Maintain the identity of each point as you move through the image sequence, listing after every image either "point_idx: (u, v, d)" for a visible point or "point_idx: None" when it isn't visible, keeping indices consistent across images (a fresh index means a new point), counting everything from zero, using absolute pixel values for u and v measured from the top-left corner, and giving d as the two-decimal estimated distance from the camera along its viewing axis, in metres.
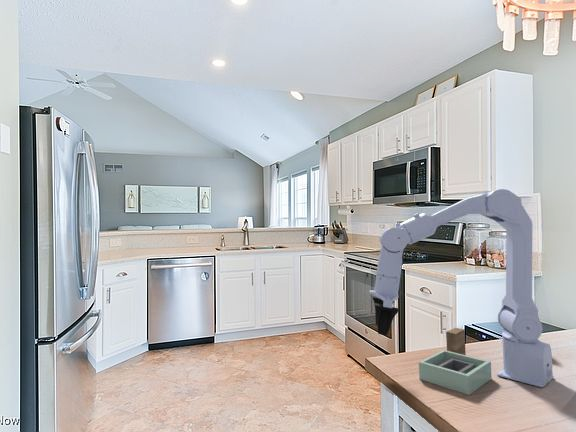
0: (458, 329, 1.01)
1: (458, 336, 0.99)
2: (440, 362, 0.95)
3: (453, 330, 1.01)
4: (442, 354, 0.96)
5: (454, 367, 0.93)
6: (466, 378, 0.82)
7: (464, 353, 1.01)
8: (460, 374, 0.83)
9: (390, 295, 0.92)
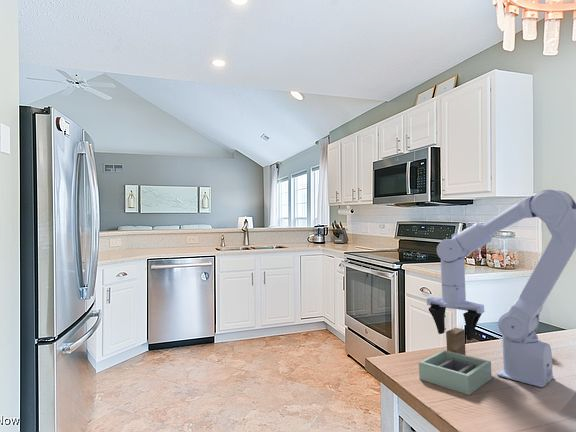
0: (458, 329, 1.01)
1: (458, 336, 0.99)
2: (440, 362, 0.95)
3: (453, 330, 1.01)
4: (442, 354, 0.96)
5: (454, 367, 0.93)
6: (466, 378, 0.82)
7: (464, 353, 1.01)
8: (460, 374, 0.83)
9: (465, 301, 0.99)
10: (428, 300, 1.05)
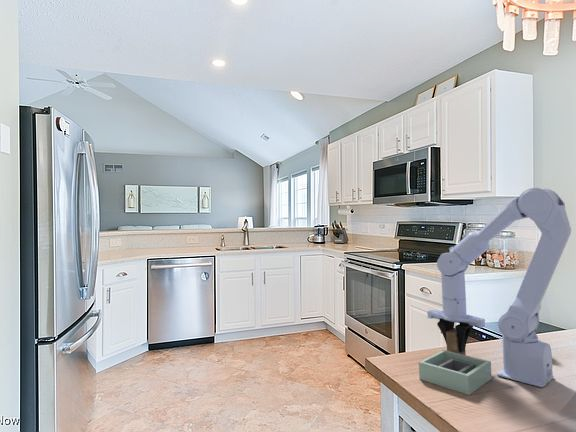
0: None
1: None
2: (440, 362, 0.95)
3: (453, 330, 1.01)
4: (442, 354, 0.96)
5: (454, 367, 0.93)
6: (466, 378, 0.82)
7: (464, 353, 1.01)
8: (460, 374, 0.83)
9: (466, 315, 0.99)
10: (429, 313, 1.05)
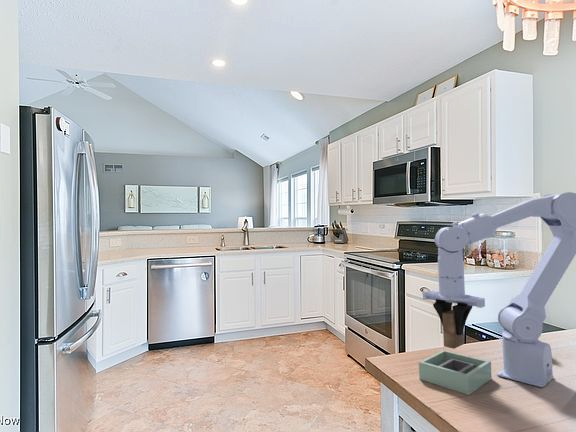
0: None
1: None
2: (440, 362, 0.95)
3: (450, 311, 0.92)
4: (442, 354, 0.96)
5: (454, 367, 0.93)
6: (466, 378, 0.82)
7: (462, 336, 0.92)
8: (460, 374, 0.83)
9: (464, 295, 0.91)
10: (424, 294, 0.97)
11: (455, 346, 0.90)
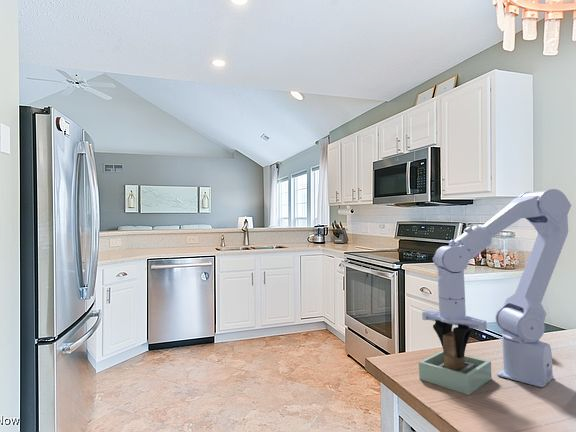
0: None
1: None
2: (440, 362, 0.95)
3: (451, 333, 0.90)
4: (442, 354, 0.96)
5: None
6: (466, 378, 0.82)
7: (463, 359, 0.90)
8: (460, 374, 0.83)
9: (465, 316, 0.88)
10: (424, 314, 0.94)
11: (456, 369, 0.87)
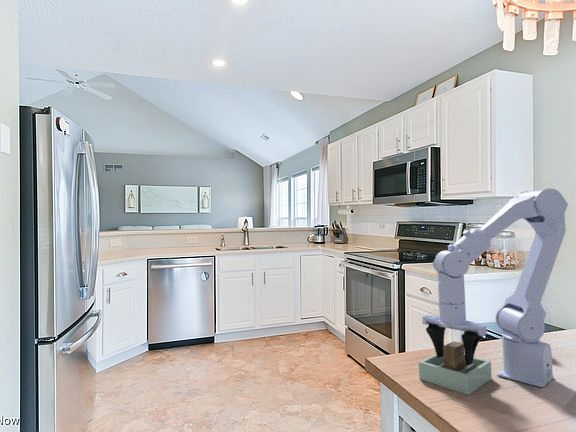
0: (457, 343, 0.90)
1: (456, 351, 0.88)
2: (440, 362, 0.95)
3: (451, 344, 0.90)
4: None
5: None
6: (466, 378, 0.82)
7: None
8: (460, 374, 0.83)
9: (465, 321, 0.88)
10: (424, 319, 0.94)
11: None
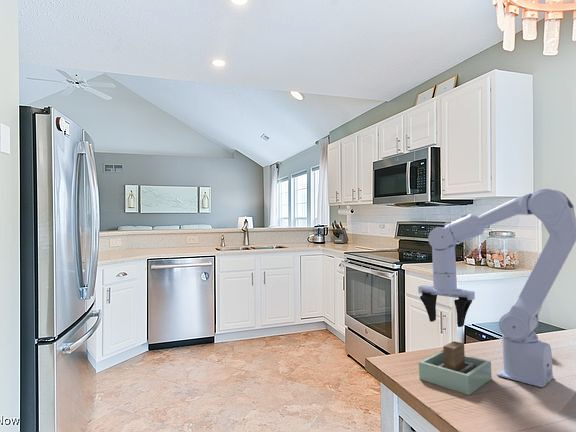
0: (457, 343, 0.90)
1: (456, 351, 0.88)
2: (440, 362, 0.95)
3: (451, 344, 0.90)
4: (442, 354, 0.96)
5: None
6: (466, 378, 0.82)
7: None
8: (460, 374, 0.83)
9: (456, 289, 1.00)
10: (420, 288, 1.06)
11: None
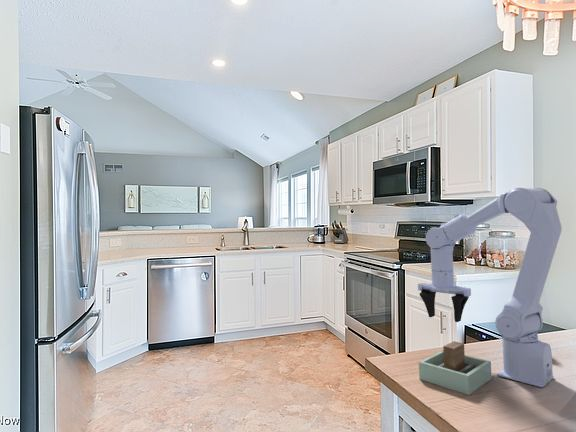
0: (457, 343, 0.90)
1: (456, 351, 0.88)
2: (440, 362, 0.95)
3: (451, 344, 0.90)
4: (442, 354, 0.96)
5: None
6: (466, 378, 0.82)
7: None
8: (460, 374, 0.83)
9: (453, 286, 1.05)
10: (419, 286, 1.11)
11: None
